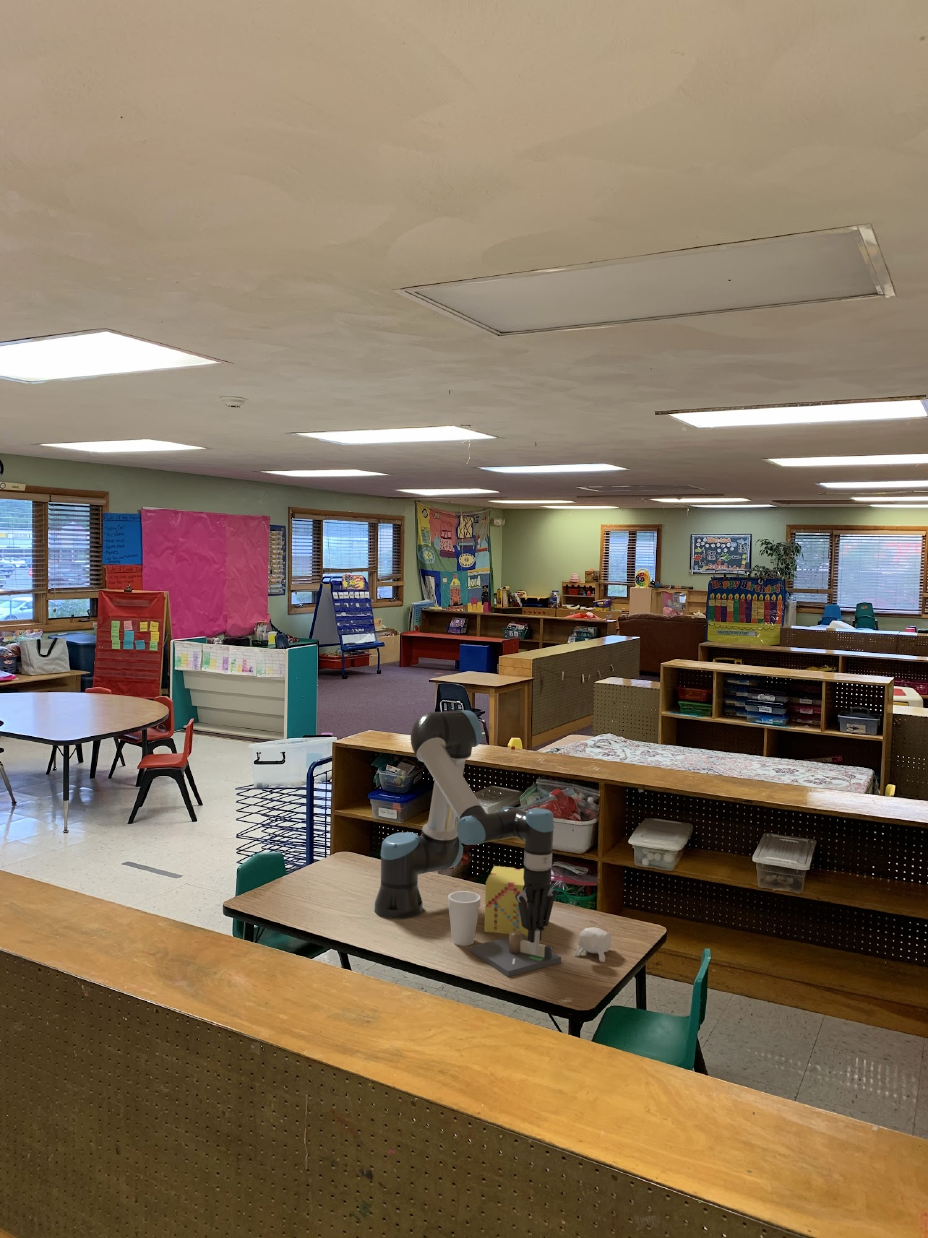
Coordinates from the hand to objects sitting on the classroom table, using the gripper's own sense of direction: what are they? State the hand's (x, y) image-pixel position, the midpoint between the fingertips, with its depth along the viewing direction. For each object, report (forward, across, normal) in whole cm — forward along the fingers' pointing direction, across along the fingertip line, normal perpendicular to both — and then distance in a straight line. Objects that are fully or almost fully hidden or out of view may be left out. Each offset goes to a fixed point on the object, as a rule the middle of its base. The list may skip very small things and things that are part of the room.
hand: (533, 953), depth 234 cm
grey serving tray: (+3, -2, +6) cm, 7 cm away
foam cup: (+4, -9, +22) cm, 24 cm away
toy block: (+3, +11, +26) cm, 28 cm away
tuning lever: (+1, +1, +3) cm, 3 cm away
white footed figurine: (+3, +18, -3) cm, 19 cm away
